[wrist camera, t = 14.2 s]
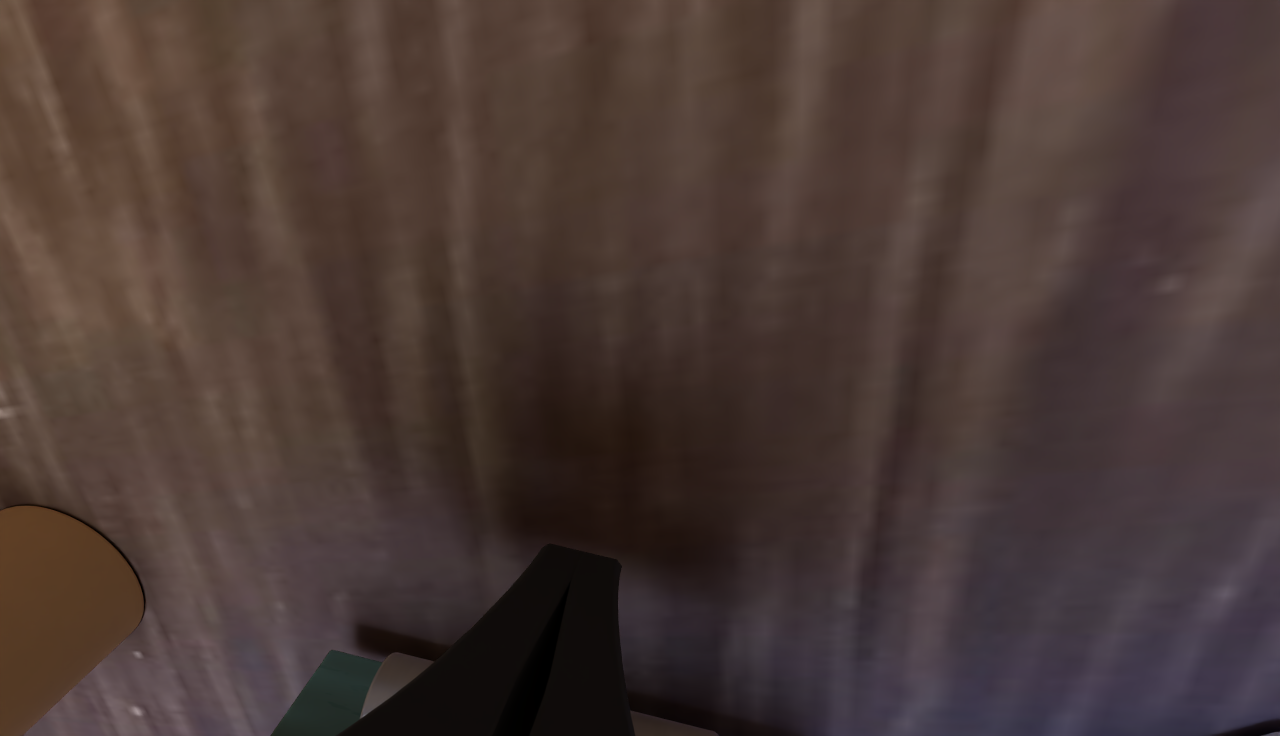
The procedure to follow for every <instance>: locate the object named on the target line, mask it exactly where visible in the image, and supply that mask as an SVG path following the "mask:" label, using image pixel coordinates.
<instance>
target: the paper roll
mask: <svg viewBox="0 0 1280 736" xmlns="http://www.w3.org/2000/svg"><path fill="white" fill-rule="evenodd" d="M143 611H144V599H143V593H142V590H141V586H140V584H139V582H138V579H137V577H136V575H135V574H134V572H133V570H132V568H131V567H130V566H129V564H128V563H127V561H126V560H125V559H124V558H123V556H122V555H121V554H120V553H119V552H118V551H117V550H116V549H115V548H114V547H113V546H112V545H111V544H110V543H109V542H108V541H107V540H106V539H105V538H103V537H102V536H101V535H100V534H98V533H97V532H96V531H94V530H93V529H91V528H90V527H88V526H87V525H85V524H83V523H82V522H80V521H78V520H76V519H74V518H72V517H70V516H68V515H65V514H63V513H60V512H58V511H54V510H51V509H48V508H43V507H38V506H15V507H10V508H6V509H3V510H1V511H0V736H22V735H24V734H25V733H26V732H27V731H28V730H29V729H30V728H31V727H32V726H33V725H34V724H35V723H36V722H37V721H38V720H39V719H41V718H42V717H43V716H44V715H45V714H46V713H47V712H48V711H49V710H50V709H51V708H52V707H53V706H54V705H55V704H56V703H57V702H59V701H60V700H61V699H62V698H63V697H64V696H65V695H66V694H67V693H68V692H69V691H70V690H71V689H72V688H73V687H74V686H75V685H77V684H78V683H79V682H80V681H81V680H82V679H83V678H84V677H85V676H86V675H87V674H88V673H89V672H90V671H91V670H92V669H94V668H95V667H96V666H97V665H98V664H99V663H100V662H101V661H102V660H103V659H104V658H105V657H106V656H107V655H108V654H109V653H110V652H112V651H113V650H114V649H115V648H116V647H117V646H118V645H119V644H120V643H121V642H122V641H123V640H124V639H125V638H126V637H127V636H129V635H130V634H131V633H132V632H133V631H134V630H135V628H136V627H137V626H138V625H139V623H140V621H141V618H142V615H143Z"/></svg>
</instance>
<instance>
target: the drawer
mask: <svg viewBox="0 0 1280 736" xmlns="http://www.w3.org/2000/svg"><path fill="white" fill-rule="evenodd" d="M432 663H434V661H430V660H426V659H422V658H418V657H414V656H410V655H406V654H402V653H398V652H396V653H392V654H390V655H389V656H388V657H387V658H386V659H385V660H384V662H379V661H375V660H371V659H367V658H363V657H359V656H355V655H351V654H347V653H343V652H339V651H335V650H331V651H330V652H329V653H328V654H327V656H326V657H325V659H324V660H323V662H322V663H321V664H320V666H319V667H318V669H317V670H316V672H315V673H314V674H313V676H312V677H311V679H310V680H309V682H308V683H307V684H306V686H305V687H304V689H303V690H302V692H301V693H300V694H299V696H298V697H297V699H296V700H295V701H294V703H293V704H292V706H291V707H290V709H289V710H288V711H287V713H286V714H285V716H284V717H283V719H282V720H281V721H280V723H279V724H278V726H277V727H276V729H275V730H274V731H273V733H272V734H271V736H336V735H338V734H339V733H341V732H342V731H343V730H345V729H346V728H348V727H349V726H351V725H352V724H354V723H355V722H357V721H358V720H359V719H361V718H362V717H364V716H365V715H366V714H368V713H369V712H371V711H372V710H373V709H375V708H376V707H378V706H379V705H380V704H382V703H383V702H385V701H386V700H387V699H389V698H390V697H391V696H393V695H394V694H395V693H397V692H398V691H399V690H400V689H402V688H403V687H404V686H405V685H407V684H408V683H409V682H411V681H412V680H413V679H414V678H416V677H417V676H418V675H419V674H420V673H422V672H423V671H424V670H425V669H426V668H428V667H429V666H430V665H431V664H432ZM630 712H631V717H632V722H633V727H634V731H635V736H718V734H717V733H716V732H714V731H711V730H707V729H703V728H699V727H695V726H691V725H687V724H683V723H679V722H675V721H671V720H667V719H663V718H659V717H655V716H651V715H647V714H643V713H639V712H635V711H631V710H630Z"/></svg>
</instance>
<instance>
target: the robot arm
mask: <svg viewBox="0 0 1280 736" xmlns="http://www.w3.org/2000/svg"><path fill="white" fill-rule="evenodd" d="M621 567H622V566H621V565H620V563H619V562H618V561H617V560H616V559H612V558H608V557H604V556H600V555H595V554H591V553H587V552H583V551H579V550H574V549H570V548H566V547H562V546H558V545H553V544H548V545H546V546H544V547H543V548H542V549H541V550H540V552H539V553H538V555H537V556H536V557H535V559H534V560H533V561H532V562H531V564H530V565H529V566H528V568H527V569H526V570H525V571H524V572H523V574H522V575H521V576H520V577H519V578H518V579H517V581H516V582H515V583H514V584H513V585H512V586H511V587H510V588H509V590H508V591H507V592H506V593H505V594H504V595H503V596H502V597H501V598H500V599H499V600H498V601H497V602H496V603H495V604H494V606H493V607H492V608H491V609H490V610H489V611H488V612H487V613H486V614H485V615H484V616H483V617H482V618H481V619H480V620H479V621H478V622H477V623H476V624H475V625H474V626H473V627H472V628H471V629H470V630H469V631H468V632H467V633H465V634H464V635H463V636H462V637H461V638H460V639H459V640H458V641H457V642H456V643H455V644H454V645H452V646H451V647H450V648H449V649H448V650H447V651H446V652H445V653H444V654H443V655H442V656H440V657H439V658H438V659H437V660H436V661H435V662H434V663H432V664H431V665H430V666H429V667H428V668H426V669H425V670H424V671H423V672H422V673H420V674H419V675H418V676H417V677H416V678H414V679H413V680H412V681H411V682H409V683H408V684H407V685H405V686H404V687H403V688H402V689H400V690H399V691H398V692H397V693H395V694H394V695H393V696H391V697H390V698H389V699H387V700H386V701H385V702H383V703H382V704H380V705H379V706H378V707H376V708H375V709H373V710H372V711H371V712H369V713H368V714H366V715H365V716H364V717H362V718H361V719H359V720H358V721H357V722H355V723H354V724H352V725H351V726H349V727H348V728H346V729H345V730H343V731H342V732H341V733H339V734H338V735H336V736H635V731H634V727H633V722H632V717H631V712H630V707H629V702H628V696H627V690H626V685H625V678H624V671H623V664H622V655H621V646H620V637H619V623H618V586H619V577H620V572H621ZM1261 736H1280V731H1279V732H1273V733H1269V734H1265V735H1261Z"/></svg>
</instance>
